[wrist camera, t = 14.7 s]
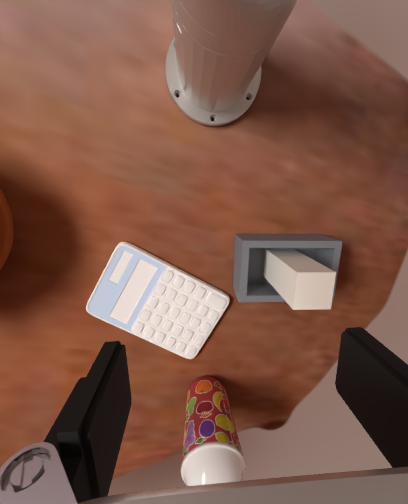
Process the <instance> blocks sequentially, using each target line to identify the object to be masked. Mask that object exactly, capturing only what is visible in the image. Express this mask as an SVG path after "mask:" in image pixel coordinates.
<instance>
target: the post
mask: <svg viewBox="0 0 408 504" xmlns="http://www.w3.org/2000/svg"><path fill="white" fill-rule="evenodd" d="M263 276H264V277H265V278H266V280H267V281H268V282H269V283H270V284H271V285H272V286H273V287H274V289H275V290H276V291H277V292H278V293H279V294H280V295H281V297H282V298H283V299H284V300H285V301H286V302H287V303H288V304H289V306H290V307H291V308H292V309H293V310H305V309H331V304H332V297H333V291H334V284H335V277H336V272H335V271H333V270H331V269H329V268H327V267H326V266H324V265H322V264H320V263H318V262H317V261H315V260H313V259H311V258H309V257H308V256H306V255H304V254H302V253H300V252H298V251H297V250H295V249H293V248H265V256H264V269H263Z"/></svg>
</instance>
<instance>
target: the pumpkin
mask: <svg viewBox="0 0 408 504" xmlns="http://www.w3.org/2000/svg"><path fill="white" fill-rule="evenodd" d="M13 237H14V225H13V218H12V214H11V210H10V207H9V204H8V202H7V199H6V197H5V195H4V194H3V192H2V190H1V188H0V269H1V267H2V266H3V265H4V263H5V262H6V260H7V258H8V256H9V254H10V252H11V248H12V244H13Z"/></svg>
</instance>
